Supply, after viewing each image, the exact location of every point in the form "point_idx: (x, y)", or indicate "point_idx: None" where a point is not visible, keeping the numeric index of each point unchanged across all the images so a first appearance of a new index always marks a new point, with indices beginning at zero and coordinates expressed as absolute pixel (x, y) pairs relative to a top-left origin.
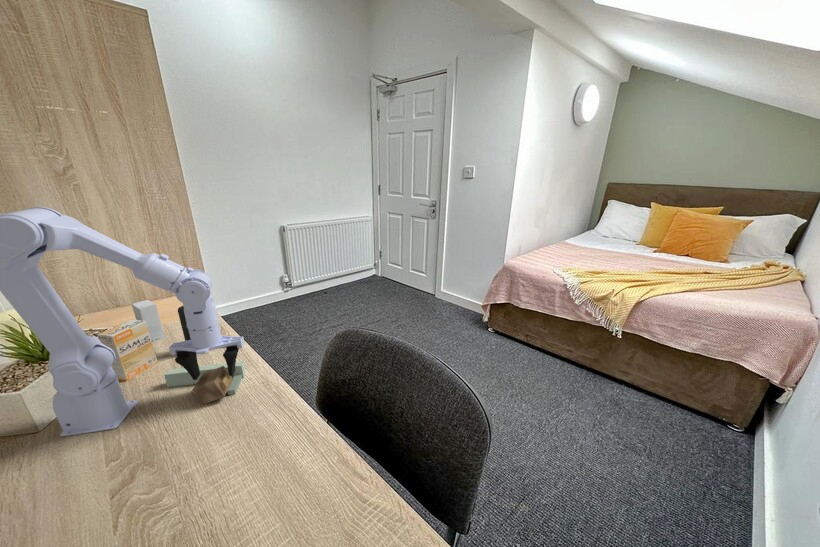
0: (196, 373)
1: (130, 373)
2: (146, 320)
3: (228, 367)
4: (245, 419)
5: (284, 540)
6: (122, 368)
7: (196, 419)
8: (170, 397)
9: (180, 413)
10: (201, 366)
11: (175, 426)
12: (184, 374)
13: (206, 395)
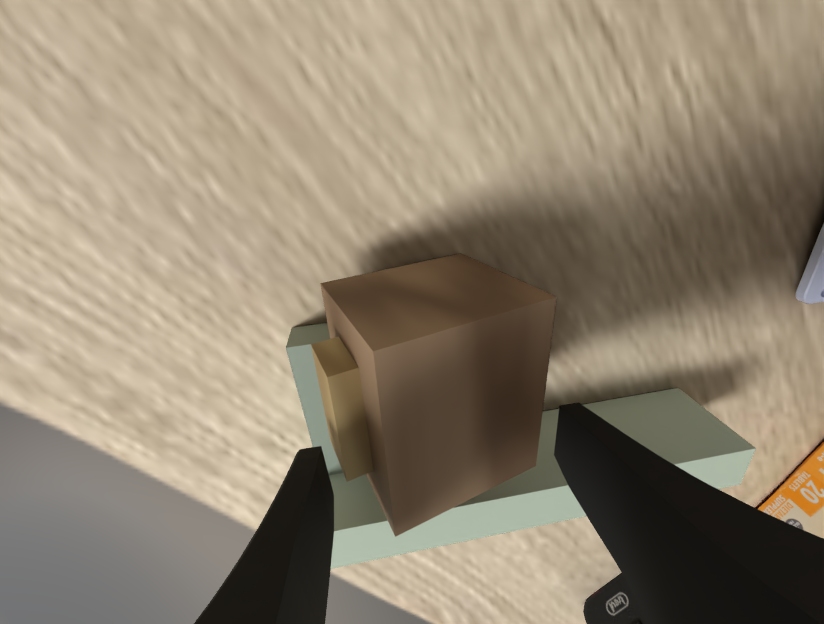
0: (580, 454)
1: None
2: None
3: (293, 527)
4: (38, 45)
5: None
6: None
7: (445, 111)
8: (651, 323)
9: (565, 187)
10: (568, 515)
11: (558, 57)
12: None
13: (442, 281)
